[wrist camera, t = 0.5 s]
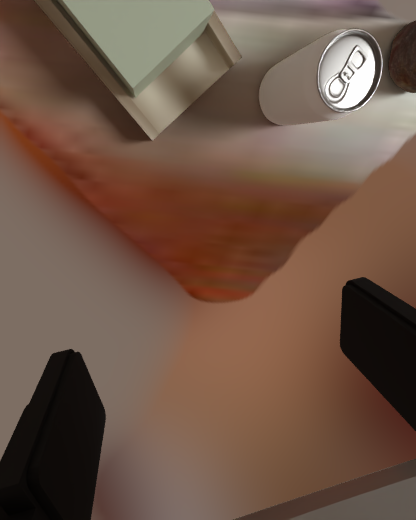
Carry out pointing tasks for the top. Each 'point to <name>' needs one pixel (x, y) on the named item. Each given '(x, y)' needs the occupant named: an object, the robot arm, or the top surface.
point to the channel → (168, 82)
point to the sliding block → (139, 33)
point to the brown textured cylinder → (404, 58)
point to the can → (323, 79)
